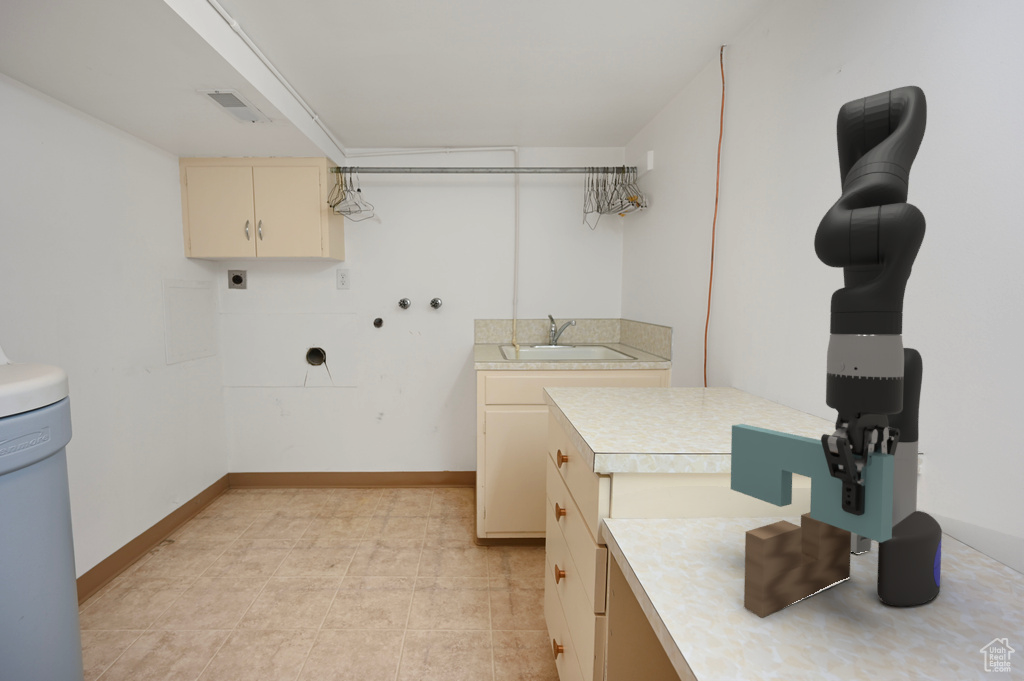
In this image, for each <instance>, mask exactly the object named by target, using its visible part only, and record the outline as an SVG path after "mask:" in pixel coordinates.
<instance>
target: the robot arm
mask: <svg viewBox="0 0 1024 681" xmlns="http://www.w3.org/2000/svg"><path fill="white" fill-rule="evenodd" d="M836 117H837V118H836V142H837V152H838V153H837V155H838V164H839V165H838V166H839V176H840V188H841V196H839V198H838V199H837V200H836V201H835V202H834V204H833V205H832V206H831V207H830V208H829V209H828V210H827V212H826V213H825V214H824V215H823V217H822V219H821V220H820V222H819V225H818V226H817V228H816V230H815V234H814V241H813V243H814V244H813V246H814V251H815V254H816V255H815V256H816V257H817V258H818V259H819V260H820V262H822V263H823V264H824V265H826V266H827V267H831V268H837V269H838V268H839V269H840V268H842V269H843V270H842V271H843V283H844V284H843V285H844V287H841V288H838V289H837V290H835V291H834V292H833V293H832V296H831V298H830V319H829V320H830V321H829V324H830V326H829V333H830V334H829V341H828V346H827V352H826V353H827V354H826V379H825V380H826V381H825V382H826V384H825V390H826V391H825V405H826V406H827V407H829V408H830V409H834V410H836V411H837V417H836V422H835V423H834V424H835V425H834V427H835V431H834V432H833V433H832V434H828V433H827V434H826V433H824V434H822V435H821V438H820V440H821V443H822V446H823V450H824V453H825V457H826V460H827V464H828V468H829V471H830V475H831V476H832V477H835V478H838V479H839V480H842V509H843V510H844V511H845V512H848V513H851V514H854V515H857V516H860V515H863V514H864V513H865V482H866V473H867V467H869V466H871V464H872V455H873V452H878V453H885V454H890V455H894V474H893V509H892V527H893V526H895V525H896V524H898V523H899V522H900V521H902V520H903V519H905V518H906V517H907V516H909V515H910V514H911V513H913V512H915V511H917V502H918V472H919V471H918V468H919V467H918V466H919V423H920V422H919V417H920V416H919V415H920V403H921V401H920V400H921V394H922V393H921V391H922V383H923V382H922V381H923V372H924V371H923V369H924V368H923V366H924V365H923V358H922V355H921V353H920V352H919V350H917V349H915V348H913V347H912V348H911V347H904V344H903V335H902V334H903V318H904V317H903V316H904V314H903V310H904V299H905V293H906V289H907V288H906V287H907V283H908V280H909V279H910V277H911V275H912V270H913V266H914V263H915V261H916V258H917V256H918V255H919V251H920V249H921V247H922V244H923V243H924V238H925V236H926V230H927V222H926V218H925V216H924V214H923V212H922V211H921V210H920V208H919V207H917V206H916V205H914V204H912V203H909V202H908V195H909V183H910V182H909V181H910V174H911V169H912V166H913V163H914V162H915V159H916V158H917V155H918V153H919V151H920V148H921V144H922V142H923V139H924V136H925V133H926V128H927V117H928V104H927V99H926V95H925V92H924V90H923V89H922V88H921V87H920V86H916V85H907V86H906V85H905V86H901V87H896V88H893V89H890V90H885V91H883V92H879V93H875V94H872V95H868V96H864V97H861V98H857V99H854V100H850V101H848V102H845V103H844V104H842V105H841V107H840V109H839V110H838V114H837V116H836ZM852 454H854V455H859V456H863V457H862V458H857V457H853V455H852ZM855 464H856V465H857V470H856V467H855ZM838 465H839V466H838Z"/></svg>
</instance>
